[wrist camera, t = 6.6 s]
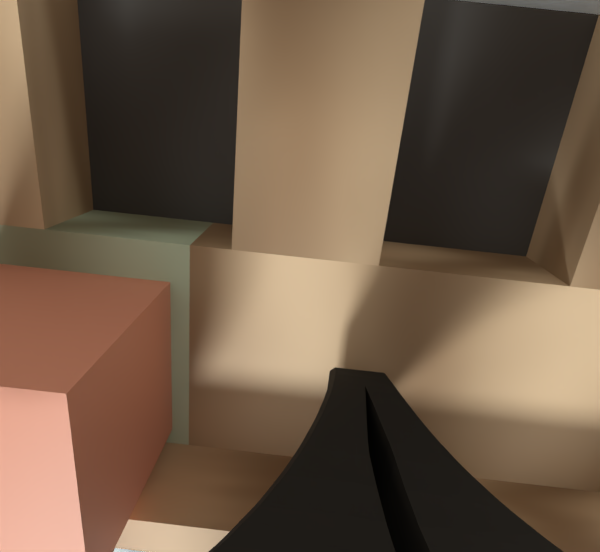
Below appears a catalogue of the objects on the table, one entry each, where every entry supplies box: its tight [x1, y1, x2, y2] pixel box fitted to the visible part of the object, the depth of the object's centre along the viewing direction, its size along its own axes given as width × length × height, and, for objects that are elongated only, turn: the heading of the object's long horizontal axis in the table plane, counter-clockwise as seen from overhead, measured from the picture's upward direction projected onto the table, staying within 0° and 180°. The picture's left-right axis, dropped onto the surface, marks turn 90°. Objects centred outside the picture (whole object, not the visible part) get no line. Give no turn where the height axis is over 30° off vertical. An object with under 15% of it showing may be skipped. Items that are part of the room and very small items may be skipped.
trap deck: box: [0, 0, 600, 552], centre depth 10 cm, size 20×13×5 cm, turn 84°
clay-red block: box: [0, 264, 172, 552], centre depth 9 cm, size 4×4×4 cm
